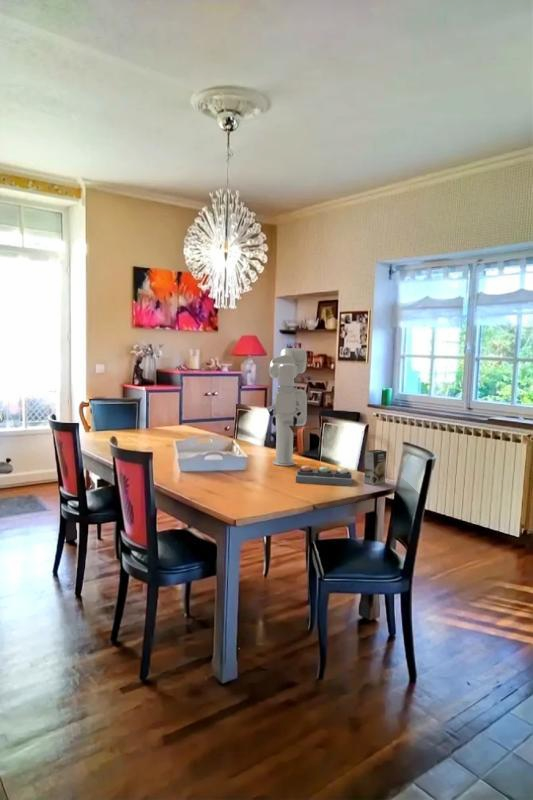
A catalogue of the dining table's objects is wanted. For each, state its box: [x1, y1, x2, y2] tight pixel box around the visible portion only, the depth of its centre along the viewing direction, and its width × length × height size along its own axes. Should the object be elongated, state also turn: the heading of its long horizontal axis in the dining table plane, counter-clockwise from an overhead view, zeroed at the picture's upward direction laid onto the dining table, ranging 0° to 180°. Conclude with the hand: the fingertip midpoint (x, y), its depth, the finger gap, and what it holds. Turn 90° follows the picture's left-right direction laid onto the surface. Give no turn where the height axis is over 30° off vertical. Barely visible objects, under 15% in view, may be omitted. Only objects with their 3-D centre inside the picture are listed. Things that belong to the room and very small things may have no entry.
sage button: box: [318, 466, 330, 473], centre depth 265 cm, size 5×5×2 cm
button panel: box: [295, 468, 353, 486], centre depth 265 cm, size 14×27×4 cm, turn 81°
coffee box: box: [363, 449, 387, 486], centre depth 263 cm, size 9×6×16 cm
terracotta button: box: [300, 465, 312, 472], centre depth 266 cm, size 5×5×2 cm
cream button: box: [336, 467, 349, 474], centre depth 264 cm, size 5×5×2 cm
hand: (284, 425), depth 256 cm, fingers open, 9 cm apart
